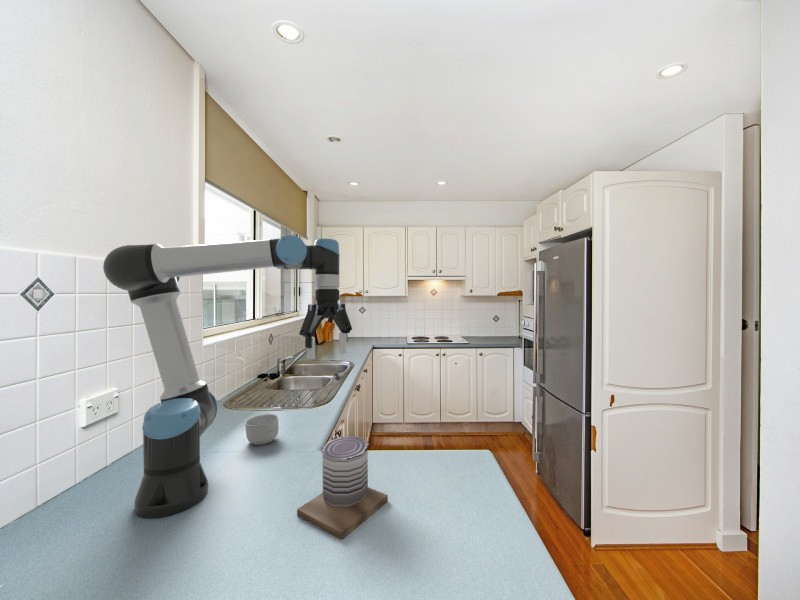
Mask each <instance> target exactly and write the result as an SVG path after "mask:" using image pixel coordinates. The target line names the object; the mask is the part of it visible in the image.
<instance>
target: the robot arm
mask: <svg viewBox="0 0 800 600" xmlns="http://www.w3.org/2000/svg"><path fill="white" fill-rule="evenodd" d="M102 268H103V273H104V275H105V277H106V279H107V280H108V281H109V283H110V284H112V285H113V286H115V287H117V288H118V289H121V290H124V291H127V293H128V296H129V300H130V303H131V304H133V305H135V306H137V307H139V308H140V313H141V314H142V315H141V316H142V319H143V322H144V325H145V329H146V333H147V335H148V338H149V342H150V345H151V348H152V352H153V357H154V359H155V363H156V366H157V369H158V372H159V375H160V379H161V382H162V386H163V389H164V390H163V392H162V394H161V395H160V397H159V400H160V402H159V403H156V404H155V405H153V406H151V407H149V408H148V409H147V410H146V412H145V414H144V416H143V423H142V427H141V428H142V435H143V436H142V439H143V440H142V441H143V443H142V445H143V451H142V453H143V477H142V479H141V481H140V484H139V488H138V489H137V492H136V495H135V498H134V513H135V514H136V515H137V516H139V517H141V518H147V519H152V518H153V519H155V518H162V517H168V516H172V515H175V514H178V513H181V512H183V511H185V510H188V509H190V508H191V507H194V506H196V505H197V504H198V503H200V502H201V501H202V500H204V498H205V497H206V496H207V495H208V491H209V481H208V480H209V479H208V477H207V476H206V473H205V471H204V468H203V465H202V463H201V437H202V435H203V434H204V433H205V431H206V430H207V429H208V428H209V427H210V426H211V425H212V424H213V422H215V421H214V420H215V419H216V416H217V414H218V410H219V409H218V408H219V407H218V406H219V405H218V403H219V402H218V400H217V397H216V396H215V395H214V394H213V392H210V391H209V390H210V389H209V386H208V383H207V381H204V380H202V379H200V377H199V374H198V371H197V368H196V364H195V360H194V357H193V353H192V350H191V347H190V344H189V340H188V335H187V332H186V329H185V325H184V323H183V319H182V316H181V311H180V308H179V305H178V302H177V299H178V298H179V297H180V295H181V290H180V287H179V286H180V285H179V282H180V278H182V277H183V278H184V277H191V276H192V277H193V276H201V275H209V274H210V275H211V274H219V273H230V272H239V271H241V272H242V271H248V270H258V269H268V268H276V269H279V270H280V269H281V270H285V271H286V270H287V271H288V270H314V271H315V273H314V276H315V277H314V278H315V279H314V280H315V281H314V283H315V284H314V285H315V288H316V289H315V290H314V291H315V292H314V294H315V295H314V299H315V302H316V303H309V304H308V305H307V312H306V314H305V318H304V321H303V322H302V325H301V327H300V331H299V332H298V333H299V336H302V337H303V338H304V339H305V340H304V341H305V342H304V343H305V344H304V345H305V348H306V359H307V360H309V359H310V360H315V359H316V338H315V336H314V335H315V333H316V332H317V330H318V328H319V327H320V325H321V323H322V321H323V320H325V319H332V320H333V321H334V324H335V325H336V326H337V328H338V329H339V331H340V332H338V343H339V344H338V353H340V354H347V349H348V347H347V346H348V345H347V344H348V334H350V333H351V331H352V330H353V326H352V324H351V322H350V321H351V320H350V318H349V316H348V312H347V310H346V309H347V308H346V303H341V302H340V303H339V302H338V301H340V290H339V288H340V244H339V242H338V241H337V240H336V239H333V238H317V239H315V240H314V244H312V245H311V244H309V245H306V244H305V242H304V241H303V240H302V239H301V238H300V237H299V236H297V235H293V234H288V235H284V236H282V237H280V238H279V237H278V238H271V239H270V238H268V239H258V240H257V239H256V240H244V241H243V240H242V241H231V242H230V241H229V242H221V243H218V242H217V243H207V244H195V245H183V246H182V245H180V246H169V247H164V246H163V245H161V244H159V243H154V244H129V245H122V246H119V247H116V248H114V249H112V250H111V251H110V252H108V254H107V255H106V257H105V258H104V261H103V267H102Z"/></svg>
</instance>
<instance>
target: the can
mask: <svg viewBox="0 0 800 600" xmlns="http://www.w3.org/2000/svg"><path fill="white" fill-rule="evenodd" d="M369 445H370V443H369V442H367V440H365V439H364V438H363V437H361V436H354V435H353V436H351V435H344V436H342V437H338V438H334V439H331V440H329V441H327V442H326V443H325V444H324V446H323V447H322V448H321V449H320V450H319V451H320V452H321V453H322V455H321V457H322V458H321V460H322V461H321V462H322V466H321V467H322V468H321V469H322V493H323V500H324V502H326V503H328V504H330V505H331V506H333V507H349V506H352V505H354V504H357V503H359V502H362V501H363V499H364V498H365V497H366V495H367V494H368V487H369V485H368V484H369V482H368V481H369V480H368V478H369V476H368V475H369V473H368V472H369V467H368V466H369V465H368V464H369V461H368V460H369V456H368V455H369V454H368V453H369V450H368V447H369Z"/></svg>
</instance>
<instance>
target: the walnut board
mask: <svg viewBox="0 0 800 600" xmlns="http://www.w3.org/2000/svg"><path fill="white" fill-rule="evenodd" d="M388 499H389V497H388V494H386V493H384V492H381V491H378V490H377V489H374V488H370V487H369V486H368V494H367V495H366V497H365V498H364V499H363V501H362V502H359V503H357V504H354V505H352V506H349V507H333V506H331V505H330V504H328V503H326V502H324V500H323V492H322V493H320V494H318V495H317V496H315V497H313V499H311V500H309V501H308V502H306V503H304V504H303V505H301V506H300V507H298V508H297V509H296V510H297V511H296V516H297V517H299V516H300V517H299V518H301V517H302V518H301V519H302V520H304V519H305V520H304V521H306V520H307V522H308V521H309V523H310V522H311V523H310V524H312V525H314V526H315V525H316V526H315V527H317V526H318V527H317V528H319V527H320V528H319V529H321V528H322V529H321V530H323V531H324V532H326V531H327V532H326V533H328V532H329V533H328V534H330V533H331V534H330V535H332V534H333V535H332V536H334V537H336V538H337V537H338V538H337V539H339V538H340V539H339V540H341V539H342V540H343V539H345V538H346V537H347V536H348V535H350V534H351V533H352V532H353V531H354V530H356V528H358V527H359V526H360V525H361V524H362V523H364V522H365V521H366V520H367V519H369V518H370V517H371V516H372V515H374V513H376V512H377V511H378V510H379V509H380V508H382V506H384V505H385V504H386V503H388ZM369 516H370V517H369ZM363 521H364V522H363ZM350 532H351V533H350ZM344 537H345V538H344Z"/></svg>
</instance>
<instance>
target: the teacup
mask: <svg viewBox="0 0 800 600" xmlns="http://www.w3.org/2000/svg"><path fill="white" fill-rule="evenodd" d="M244 425H245V434H246V440H247V441H248V442H249V443H251V444H253V445H255V446H262V445H266V444H267V445H268V444H271V442H273V441H274V439H276V437H277V436H278V435H279V415H277V414H272V413H269V412H265V413H264V414H260V415H256V416H253V417H250V418H248V419H247V420H245V421H244Z"/></svg>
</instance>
